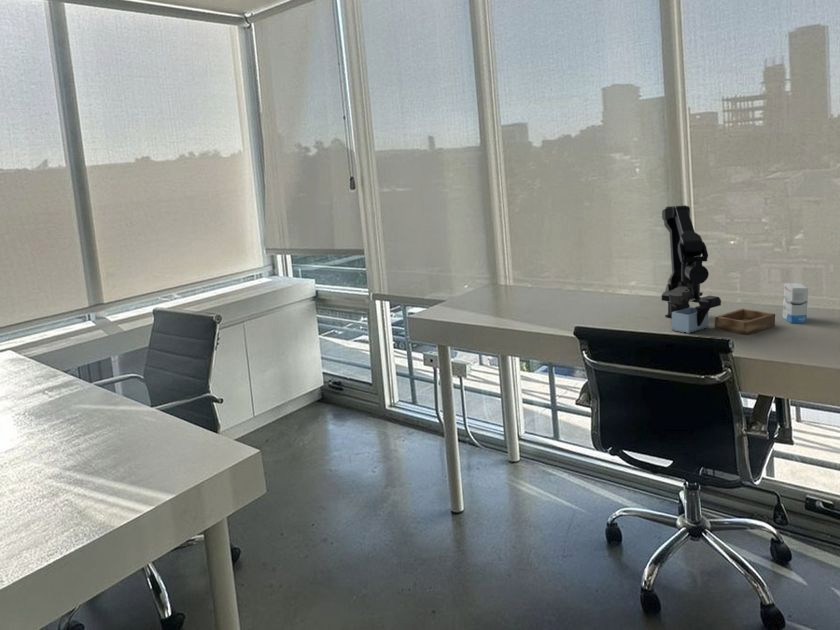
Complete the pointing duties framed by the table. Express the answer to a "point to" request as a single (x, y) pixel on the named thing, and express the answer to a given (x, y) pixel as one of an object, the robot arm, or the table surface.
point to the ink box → (795, 302)
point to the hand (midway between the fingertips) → (689, 324)
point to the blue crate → (687, 320)
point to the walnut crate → (745, 321)
